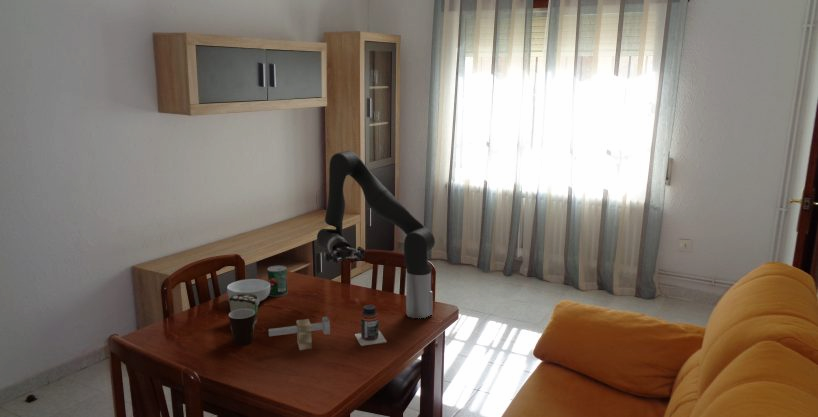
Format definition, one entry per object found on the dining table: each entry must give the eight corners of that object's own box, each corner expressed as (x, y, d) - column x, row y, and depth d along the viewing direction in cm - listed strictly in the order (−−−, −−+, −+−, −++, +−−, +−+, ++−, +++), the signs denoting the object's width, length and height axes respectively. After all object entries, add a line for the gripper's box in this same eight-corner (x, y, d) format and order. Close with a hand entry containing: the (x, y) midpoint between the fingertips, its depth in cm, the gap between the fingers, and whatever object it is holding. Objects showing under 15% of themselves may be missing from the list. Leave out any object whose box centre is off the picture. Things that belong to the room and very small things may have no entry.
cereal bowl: (279, 299, 242) (279, 283, 241) (248, 312, 229) (247, 295, 227) (250, 291, 251) (249, 275, 250) (218, 303, 238) (217, 287, 236)
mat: (379, 331, 212) (379, 330, 212) (386, 342, 204) (386, 341, 204) (354, 335, 209) (354, 334, 209) (361, 345, 201) (360, 344, 201)
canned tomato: (264, 295, 247) (263, 269, 245) (275, 289, 254) (274, 264, 252) (280, 297, 244) (279, 272, 242) (291, 291, 251) (290, 266, 249)
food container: (267, 320, 222) (265, 294, 220) (257, 326, 216) (256, 300, 214) (238, 315, 226) (237, 290, 224) (228, 321, 220) (227, 296, 218)
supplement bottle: (361, 334, 209) (360, 303, 207) (378, 333, 210) (377, 303, 207) (361, 341, 203) (360, 310, 201) (378, 340, 204) (378, 309, 201)
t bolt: (327, 328, 204) (327, 316, 203) (330, 333, 200) (329, 321, 199) (268, 336, 198) (267, 323, 197) (269, 341, 194) (269, 329, 193)
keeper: (309, 342, 203) (308, 318, 201) (311, 348, 198) (310, 324, 197) (297, 344, 202) (296, 320, 200) (299, 350, 197) (298, 326, 195)
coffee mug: (249, 347, 199) (247, 319, 197) (225, 345, 201) (223, 317, 199) (264, 333, 210) (263, 306, 208) (241, 331, 212) (240, 304, 210)
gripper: (319, 240, 222) (328, 251, 206) (357, 236, 226) (368, 246, 211) (320, 259, 223) (329, 271, 208) (357, 255, 227) (368, 267, 212)
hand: (348, 259), depth 209 cm, fingers open, 8 cm apart
